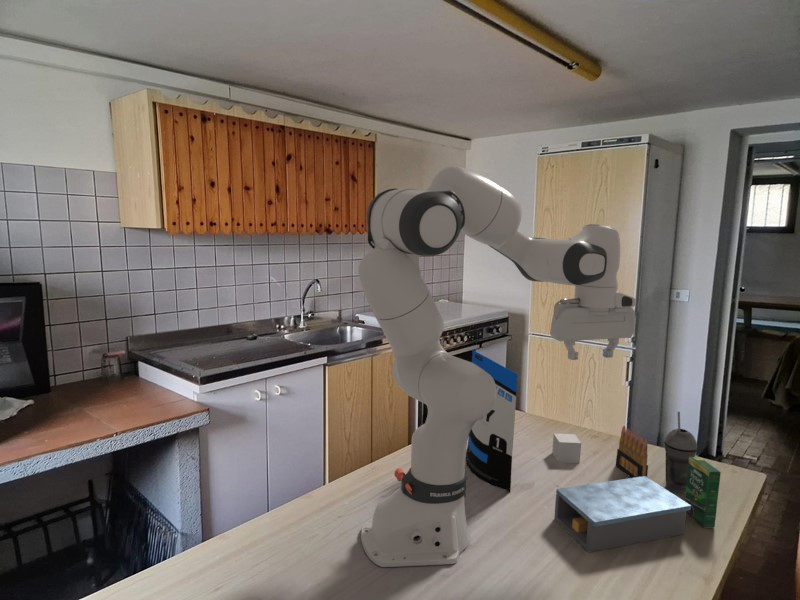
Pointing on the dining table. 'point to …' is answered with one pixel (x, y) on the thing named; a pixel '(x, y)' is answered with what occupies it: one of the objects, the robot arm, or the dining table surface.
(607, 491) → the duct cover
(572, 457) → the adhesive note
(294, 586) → the dining table surface
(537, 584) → the dining table surface
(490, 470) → the protein powder
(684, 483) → the beverage cup
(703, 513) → the coffee box
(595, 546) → the duct trough
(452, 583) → the dining table surface
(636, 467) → the ammunition clip
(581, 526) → the amber wooden bar
